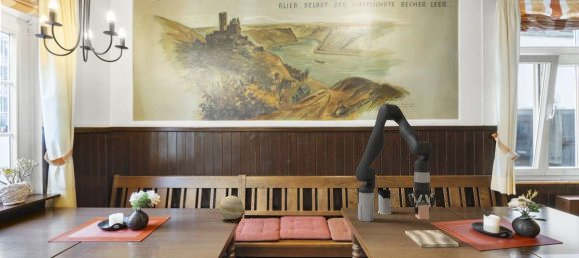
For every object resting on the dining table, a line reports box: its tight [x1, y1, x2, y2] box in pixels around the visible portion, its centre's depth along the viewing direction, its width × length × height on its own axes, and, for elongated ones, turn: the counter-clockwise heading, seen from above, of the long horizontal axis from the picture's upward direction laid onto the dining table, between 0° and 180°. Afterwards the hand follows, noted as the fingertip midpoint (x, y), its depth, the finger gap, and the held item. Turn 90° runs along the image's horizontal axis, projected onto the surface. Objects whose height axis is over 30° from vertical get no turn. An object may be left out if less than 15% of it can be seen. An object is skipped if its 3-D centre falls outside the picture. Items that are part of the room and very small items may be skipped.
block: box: [415, 201, 430, 220], centre depth 181 cm, size 5×5×8 cm
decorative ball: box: [219, 195, 244, 220], centre depth 225 cm, size 15×15×15 cm
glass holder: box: [377, 189, 400, 215], centre depth 238 cm, size 9×14×15 cm, turn 96°
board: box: [404, 229, 460, 249], centre depth 181 cm, size 18×22×2 cm
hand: (422, 214), depth 181 cm, fingers closed on block, 5 cm apart
